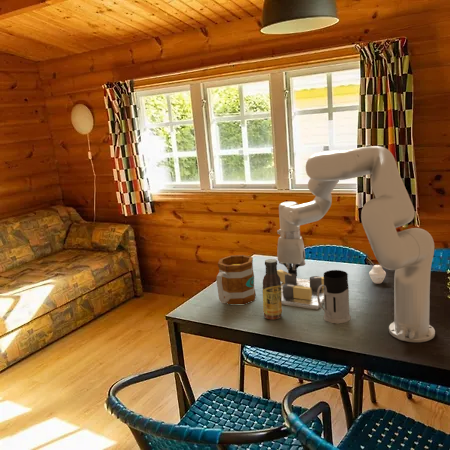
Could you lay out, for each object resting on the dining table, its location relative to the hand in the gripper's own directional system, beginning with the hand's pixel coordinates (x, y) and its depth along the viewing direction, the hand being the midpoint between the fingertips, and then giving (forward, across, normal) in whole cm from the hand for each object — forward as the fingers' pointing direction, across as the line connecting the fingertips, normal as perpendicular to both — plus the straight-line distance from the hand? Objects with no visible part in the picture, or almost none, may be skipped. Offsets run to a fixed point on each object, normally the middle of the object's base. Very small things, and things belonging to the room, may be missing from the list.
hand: (292, 278), depth 179 cm
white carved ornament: (+3, +30, +12) cm, 32 cm away
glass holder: (+3, +24, -25) cm, 35 cm away
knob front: (+1, +8, -15) cm, 17 cm away
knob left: (+1, -1, -3) cm, 4 cm away
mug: (+3, -14, -22) cm, 26 cm away
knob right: (+1, +14, -4) cm, 14 cm away
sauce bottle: (+3, +5, -29) cm, 30 cm away
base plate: (+3, +7, -8) cm, 11 cm away
